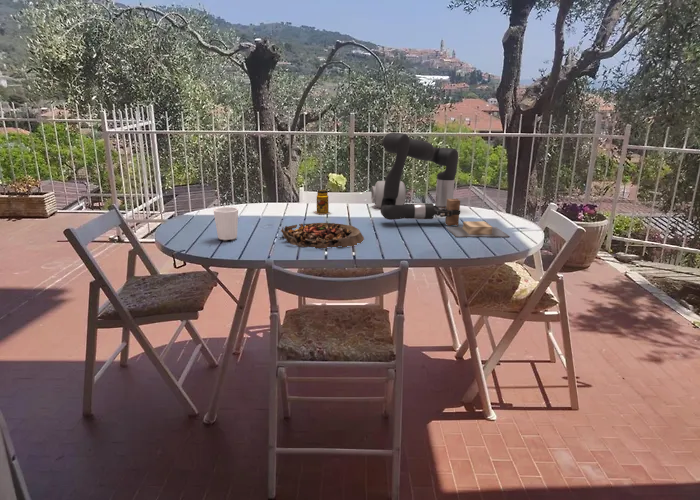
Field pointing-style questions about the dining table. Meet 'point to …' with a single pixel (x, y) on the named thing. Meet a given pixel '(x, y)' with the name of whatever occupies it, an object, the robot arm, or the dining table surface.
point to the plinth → (476, 230)
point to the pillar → (452, 205)
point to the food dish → (322, 235)
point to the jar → (379, 191)
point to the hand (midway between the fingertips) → (458, 211)
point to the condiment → (322, 202)
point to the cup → (226, 223)
